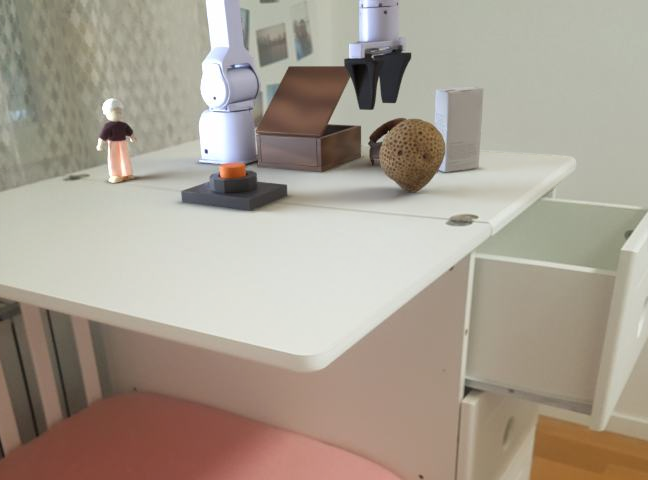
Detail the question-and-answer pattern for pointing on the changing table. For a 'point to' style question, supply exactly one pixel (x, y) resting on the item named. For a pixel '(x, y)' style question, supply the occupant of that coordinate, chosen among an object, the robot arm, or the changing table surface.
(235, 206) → the switch block
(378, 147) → the pottery mug
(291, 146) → the chest
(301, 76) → the lid
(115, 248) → the changing table surface
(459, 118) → the cosmetic box
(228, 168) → the button
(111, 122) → the grandmother figurine
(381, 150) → the natural sponge
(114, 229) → the changing table surface
